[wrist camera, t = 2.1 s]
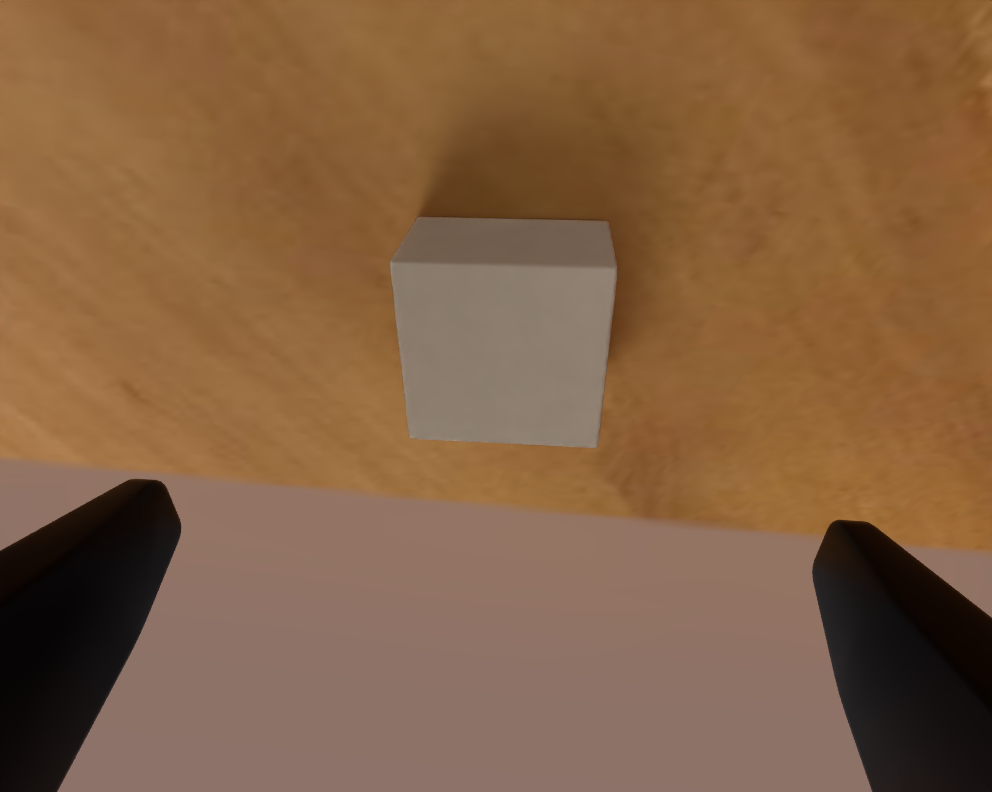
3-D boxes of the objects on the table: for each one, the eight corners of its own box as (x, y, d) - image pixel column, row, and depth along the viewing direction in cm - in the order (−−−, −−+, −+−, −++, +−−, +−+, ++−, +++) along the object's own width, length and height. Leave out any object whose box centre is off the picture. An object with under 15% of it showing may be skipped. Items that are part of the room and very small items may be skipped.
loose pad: (592, 384, 15) (598, 449, 13) (429, 376, 15) (408, 439, 13) (609, 220, 12) (618, 266, 10) (416, 215, 13) (388, 260, 11)
